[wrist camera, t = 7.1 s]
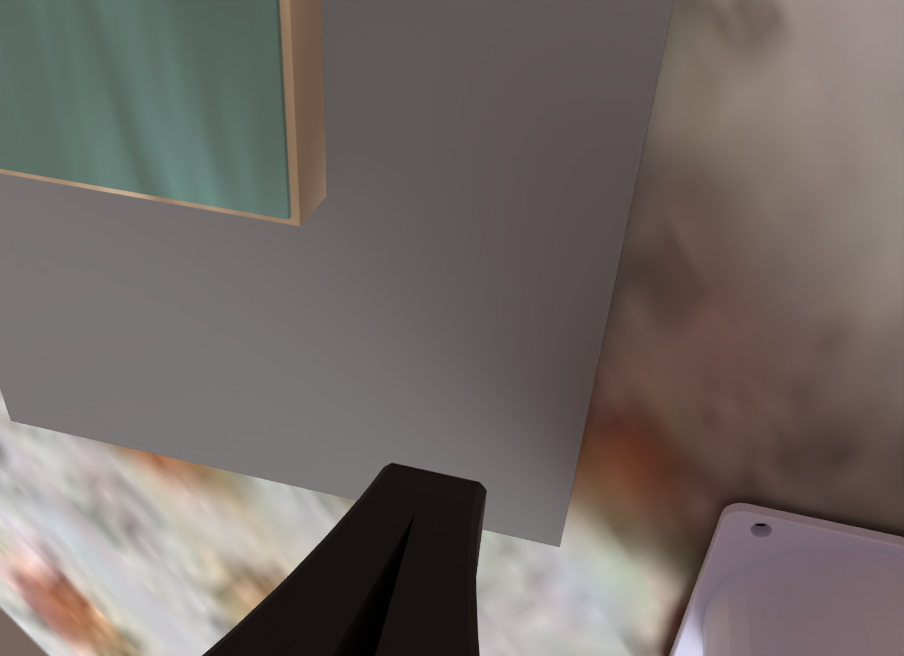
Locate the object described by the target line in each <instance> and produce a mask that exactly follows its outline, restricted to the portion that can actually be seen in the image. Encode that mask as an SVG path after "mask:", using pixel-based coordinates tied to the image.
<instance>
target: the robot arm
mask: <svg viewBox="0 0 904 656" xmlns="http://www.w3.org/2000/svg"><path fill="white" fill-rule="evenodd" d="M486 494H487V490H486V489H485V487H484V486H483V485H482V484H481V483H480V482H478V481H473V480H469V479H464V478H460V477H455V476H451V475H446V474H441V473H437V472H432V471H428V470H423V469H419V468H414V467H410V466H405V465H401V464H396V463H390V464H388V465H386V466H385V467H383V469H382V470H381V471H380V473H379V474H378V475H377V477H376V478H375V479H374V480H373V482H372V483H371V484H370V486H369V487H368V488H367V489H366V490H365V492H364V493H363V494H362V495H361V497H360V498H359V499H358V500H357V502H356V503H355V504H354V505H353V506H352V507H351V509H350V510H349V511H348V512H347V513H346V514H345V516H344V517H343V518H342V519H341V520H340V521H339V522H338V523H337V525H336V526H335V527H334V528H333V529H332V530H331V531H330V533H329V534H328V535H327V536H326V537H325V538H324V539H323V540H322V541H321V542H320V543H319V544H318V545H317V546H316V547H315V549H314V550H313V551H312V552H311V553H310V554H309V555H308V556H307V557H306V558H305V559H304V560H303V561H302V562H301V563H300V564H299V565H298V566H297V567H296V569H295V570H294V571H293V572H292V573H291V574H290V575H289V576H288V577H287V578H286V579H285V580H284V581H283V582H282V583H281V584H280V585H279V586H278V587H277V588H276V589H275V590H274V591H272V592H271V593H270V594H269V595H268V596H267V597H266V598H265V599H264V600H263V601H262V602H261V603H260V604H259V605H258V606H257V607H256V608H254V609H253V610H252V611H251V612H250V613H249V614H248V615H247V616H246V617H245V618H244V619H243V620H242V621H241V622H240V623H239V624H238V625H236V626H235V627H234V628H233V629H232V630H231V631H230V632H229V633H228V634H226V635H225V636H224V637H223V638H222V639H221V640H220V641H218V642H217V643H216V644H215V645H214V646H213V647H212V648H210V649H209V650H208V651H207V652H206V653H205V654H203V655H202V656H480V655H479V642H478V623H477V598H476V574H477V566H478V558H479V550H480V542H481V534H482V526H483V518H484V510H485V502H486ZM757 523H765V524H767V525H765V526H756V525H754V524H757ZM669 656H904V537H901V536H896V535H892V534H887V533H882V532H878V531H873V530H868V529H864V528H859V527H854V526H850V525H845V524H840V523H836V522H831V521H826V520H822V519H817V518H812V517H808V516H803V515H798V514H794V513H789V512H784V511H780V510H775V509H770V508H766V507H761V506H756V505H752V504H747V503H735V504H730V505H729V506H727V507H725V509H724V510H723V511H722V513H721V516H720V519H719V521H718V524H717V527H716V530H715V532H714V535H713V538H712V541H711V543H710V546H709V549H708V551H707V554H706V557H705V560H704V562H703V565H702V568H701V571H700V573H699V576H698V579H697V581H696V584H695V587H694V590H693V592H692V595H691V598H690V601H689V603H688V606H687V609H686V611H685V614H684V617H683V620H682V622H681V625H680V628H679V631H678V633H677V636H676V639H675V641H674V644H673V647H672V650H671V652H670V655H669Z"/></svg>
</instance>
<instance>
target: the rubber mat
mask: <svg viewBox="0 0 904 656" xmlns="http://www.w3.org/2000/svg"><path fill="white" fill-rule="evenodd" d="M321 4H322V42H323V80H324V118H325V156H326V195H327V196H326V197H325V198H324V199H323V201H322V202H321V203H320V204H319V205H318V206H317V207H316V209H315V210H314V211H313V212H312V213H311V214H310V216H309V217H308V218H307V219H306V220H305V221H304V223H303V224H302V225H301V226H295V225H290V224H284V223H278V222H273V221H267V220H261V219H256V218H250V217H245V216H239V215H233V214H228V213H222V212H216V211H211V210H205V209H199V208H194V207H188V206H182V205H177V204H171V203H166V202H160V201H154V200H149V199H143V198H137V197H132V196H126V195H120V194H115V193H109V192H103V191H98V190H92V189H87V188H81V187H75V186H70V185H64V184H58V183H53V182H47V181H41V180H36V179H30V178H24V177H19V176H13V175H8V174H2V173H0V389H1V392H2V395H3V398H4V401H5V404H6V407H7V410H8V413H9V416H10V419H11V421H14V422H19V423H23V424H27V425H32V426H36V427H40V428H45V429H49V430H53V431H58V432H62V433H66V434H71V435H75V436H79V437H84V438H88V439H92V440H97V441H101V442H105V443H110V444H114V445H118V446H123V447H127V448H131V449H136V450H140V451H144V452H149V453H153V454H157V455H162V456H166V457H170V458H175V459H179V460H183V461H188V462H192V463H196V464H201V465H205V466H210V467H214V468H218V469H223V470H227V471H231V472H236V473H240V474H244V475H249V476H253V477H257V478H262V479H266V480H270V481H275V482H279V483H283V484H288V485H292V486H296V487H301V488H305V489H309V490H314V491H318V492H322V493H327V494H331V495H335V496H340V497H344V498H348V499H353V500H358V499H359V498H360V497H361V495H362V494H363V493H364V492H365V490H366V489H367V488H368V487H369V486H370V484H371V483H372V482H373V480H374V479H375V478H376V477H377V475H378V474H379V473H380V471H381V470H382V469H383V467H385V466H386V465H388V464H390V463H396V464H401V465H405V466H410V467H414V468H419V469H423V470H428V471H432V472H437V473H441V474H446V475H451V476H455V477H460V478H464V479H469V480H473V481H478V482H480V483H481V484H482V485H483V486H484V487H485V489H486V490H487V494H486V502H485V510H484V518H483V526H482V529H483V530H487V531H492V532H496V533H500V534H505V535H509V536H513V537H518V538H522V539H526V540H531V541H535V542H539V543H544V544H548V545H552V546H557V547H560V543H561V539H562V534H563V529H564V524H565V519H566V515H567V510H568V505H569V500H570V496H571V491H572V486H573V481H574V476H575V472H576V467H577V462H578V457H579V453H580V448H581V443H582V438H583V434H584V429H585V424H586V419H587V414H588V410H589V405H590V400H591V395H592V391H593V386H594V381H595V376H596V371H597V367H598V362H599V357H600V352H601V348H602V343H603V338H604V333H605V328H606V324H607V319H608V314H609V309H610V305H611V300H612V295H613V290H614V285H615V281H616V276H617V271H618V266H619V262H620V257H621V252H622V247H623V243H624V238H625V233H626V228H627V223H628V219H629V214H630V209H631V204H632V200H633V195H634V190H635V185H636V180H637V176H638V171H639V166H640V161H641V157H642V152H643V147H644V142H645V137H646V133H647V128H648V123H649V118H650V114H651V109H652V104H653V99H654V94H655V90H656V85H657V80H658V75H659V71H660V66H661V61H662V56H663V51H664V47H665V42H666V37H667V32H668V28H669V23H670V18H671V13H672V9H673V4H674V0H321Z"/></svg>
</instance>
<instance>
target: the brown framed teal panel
mask: <svg viewBox="0 0 904 656" xmlns="http://www.w3.org/2000/svg"><path fill="white" fill-rule="evenodd" d="M0 173H2V174H8V175H13V176H19V177H24V178H30V179H36V180H41V181H47V182H53V183H58V184H64V185H70V186H75V187H81V188H87V189H92V190H98V191H103V192H109V193H115V194H120V195H126V196H132V197H137V198H143V199H149V200H154V201H160V202H166V203H171V204H177V205H182V206H188V207H194V208H199V209H205V210H211V211H216V212H222V213H228V214H233V215H239V216H245V217H250V218H256V219H261V220H267V221H273V222H278V223H284V224H290V225H295V226H301V225H302V224H303V223H304V221H305V220H306V219H307V218H308V217H309V216H310V214H311V213H312V212H313V211H314V210H315V209H316V207H317V206H318V205H319V204H320V203H321V202H322V201H323V199H324V198H325V197H326V196H327V195H326V156H325V118H324V80H323V42H322V4H321V0H0Z"/></svg>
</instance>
